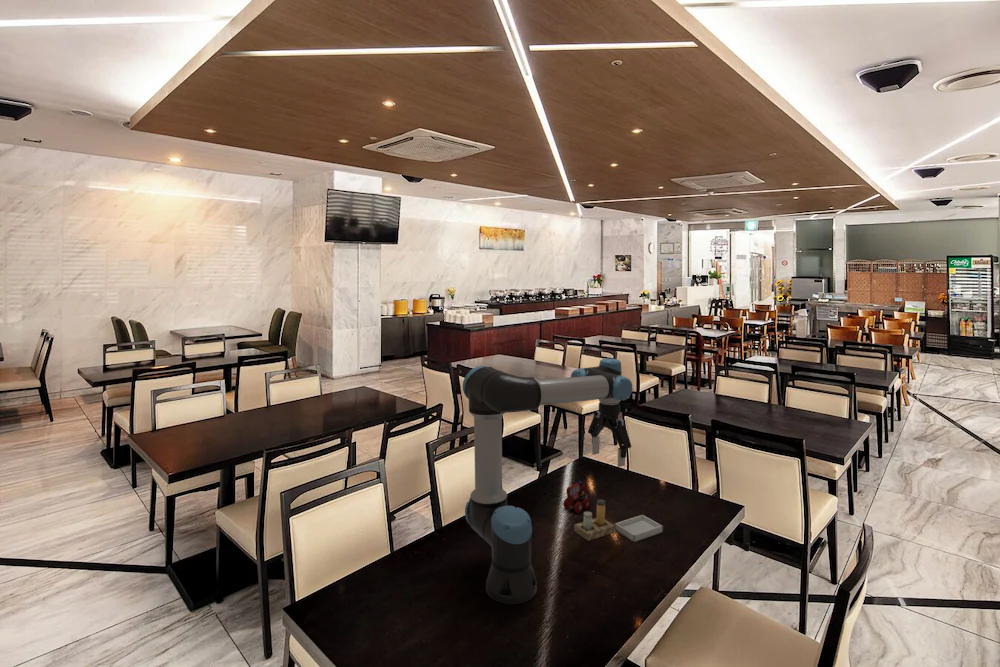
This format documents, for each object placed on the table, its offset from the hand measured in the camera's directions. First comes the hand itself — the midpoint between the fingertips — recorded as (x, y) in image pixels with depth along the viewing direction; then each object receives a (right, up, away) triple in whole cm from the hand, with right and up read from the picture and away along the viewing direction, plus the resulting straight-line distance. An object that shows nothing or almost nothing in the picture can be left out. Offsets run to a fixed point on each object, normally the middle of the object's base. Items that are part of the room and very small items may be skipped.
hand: (608, 459), depth 187 cm
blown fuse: (-2, -26, +3) cm, 27 cm away
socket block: (-5, -26, +1) cm, 27 cm away
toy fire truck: (-8, -24, +20) cm, 32 cm away
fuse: (-8, -27, 0) cm, 28 cm away
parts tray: (+11, -26, +2) cm, 29 cm away
